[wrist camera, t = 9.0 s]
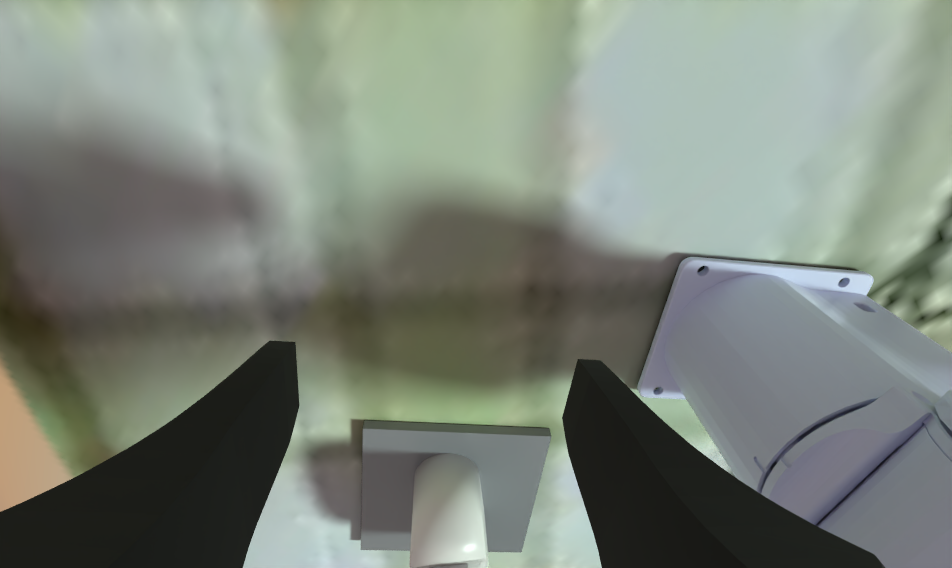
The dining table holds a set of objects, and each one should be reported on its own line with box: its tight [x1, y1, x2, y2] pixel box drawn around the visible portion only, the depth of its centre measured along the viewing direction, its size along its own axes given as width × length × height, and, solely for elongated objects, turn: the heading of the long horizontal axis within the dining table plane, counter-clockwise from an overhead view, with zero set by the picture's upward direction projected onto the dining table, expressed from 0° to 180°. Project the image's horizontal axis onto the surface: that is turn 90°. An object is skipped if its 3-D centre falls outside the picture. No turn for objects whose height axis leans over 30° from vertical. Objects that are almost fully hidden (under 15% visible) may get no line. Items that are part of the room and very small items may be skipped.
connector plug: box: [410, 453, 489, 568], centre depth 26 cm, size 4×7×6 cm, turn 6°
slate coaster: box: [361, 420, 551, 552], centre depth 29 cm, size 10×10×1 cm
